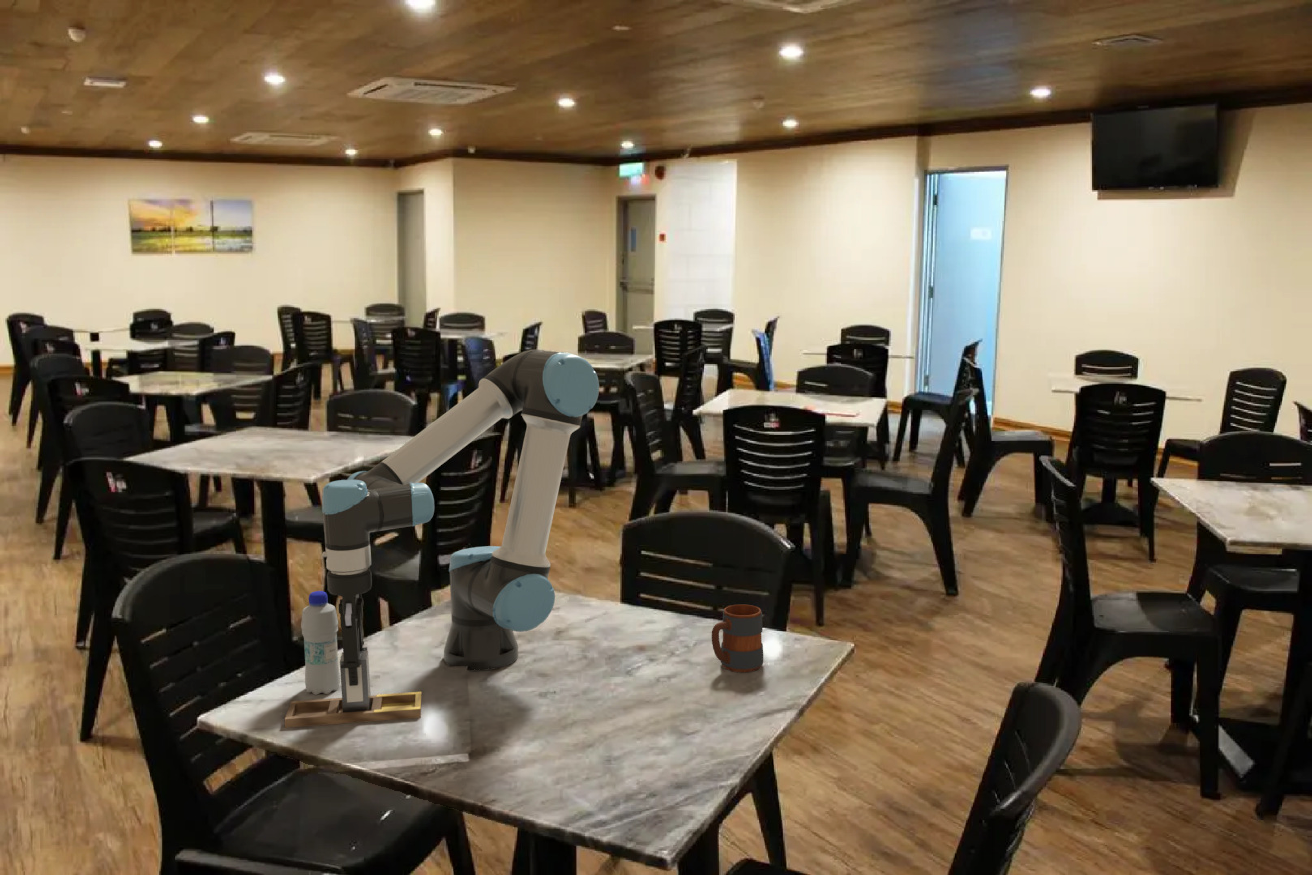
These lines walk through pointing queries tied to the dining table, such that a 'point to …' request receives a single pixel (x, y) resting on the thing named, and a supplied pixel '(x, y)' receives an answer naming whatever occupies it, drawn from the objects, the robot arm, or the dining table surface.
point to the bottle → (320, 645)
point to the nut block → (366, 701)
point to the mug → (739, 638)
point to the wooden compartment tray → (333, 712)
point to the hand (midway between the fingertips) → (356, 694)
